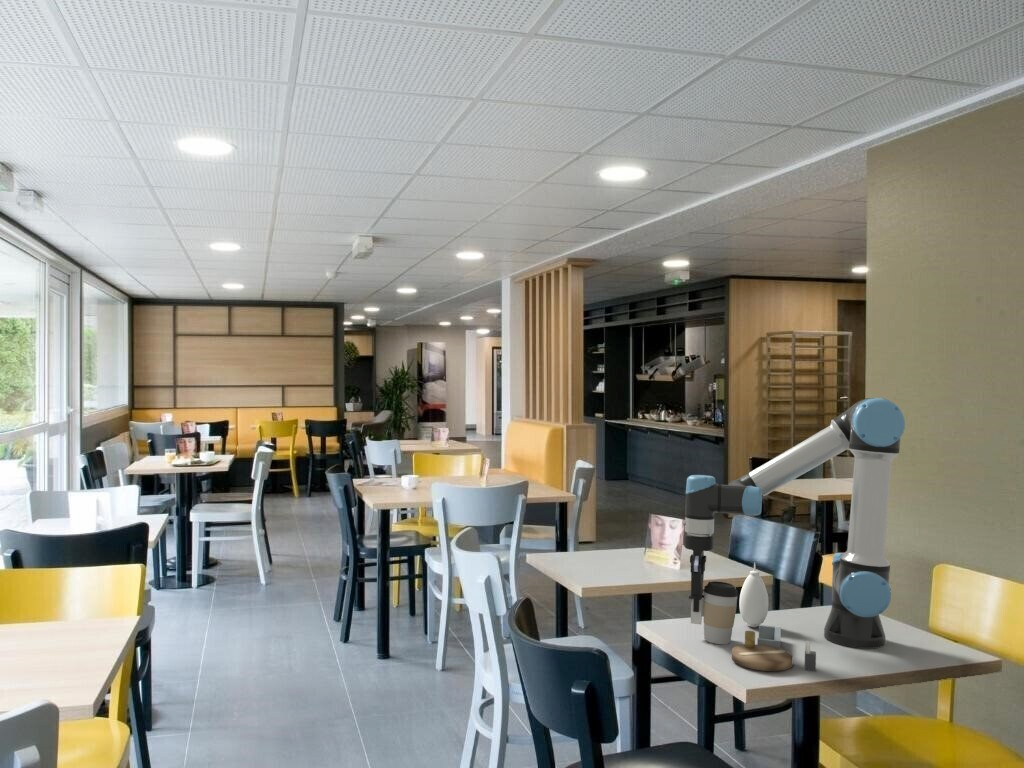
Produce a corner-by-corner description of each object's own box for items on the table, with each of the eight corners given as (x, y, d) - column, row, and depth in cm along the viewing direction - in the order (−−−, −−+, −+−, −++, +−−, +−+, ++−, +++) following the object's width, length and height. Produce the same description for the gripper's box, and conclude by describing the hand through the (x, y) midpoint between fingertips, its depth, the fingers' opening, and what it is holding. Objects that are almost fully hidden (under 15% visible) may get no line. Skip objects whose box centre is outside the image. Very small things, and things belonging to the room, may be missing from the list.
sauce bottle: (765, 631, 229) (767, 566, 229) (736, 627, 232) (738, 562, 232) (769, 625, 236) (771, 561, 236) (741, 621, 239) (743, 558, 239)
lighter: (815, 667, 200) (815, 640, 200) (815, 672, 197) (816, 644, 197) (804, 666, 200) (805, 639, 200) (804, 670, 197) (805, 642, 197)
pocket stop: (780, 640, 222) (780, 626, 222) (780, 656, 208) (780, 642, 208) (758, 637, 223) (759, 624, 223) (757, 653, 210) (757, 639, 210)
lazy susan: (771, 650, 210) (771, 629, 210) (804, 668, 197) (804, 645, 197) (721, 653, 207) (721, 631, 207) (751, 672, 193) (751, 649, 193)
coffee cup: (731, 636, 224) (736, 580, 224) (737, 647, 215) (742, 588, 215) (697, 633, 225) (701, 577, 225) (702, 643, 216) (706, 585, 215)
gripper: (687, 529, 229) (684, 615, 229) (681, 536, 216) (678, 627, 216) (715, 531, 227) (712, 618, 226) (711, 539, 214) (708, 631, 214)
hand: (696, 623), depth 221 cm, fingers closed
